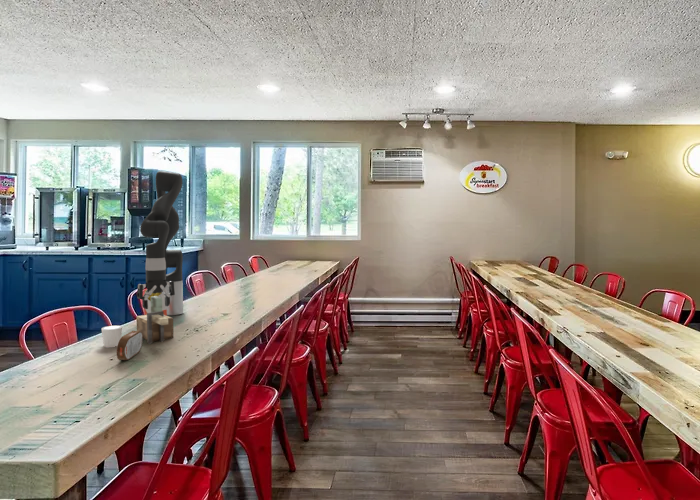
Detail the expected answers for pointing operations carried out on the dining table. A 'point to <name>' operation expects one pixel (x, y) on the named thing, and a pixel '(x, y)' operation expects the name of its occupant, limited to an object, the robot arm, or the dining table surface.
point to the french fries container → (164, 308)
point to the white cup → (111, 335)
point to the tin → (129, 345)
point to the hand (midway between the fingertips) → (156, 307)
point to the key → (160, 319)
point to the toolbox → (155, 328)
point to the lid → (153, 308)
